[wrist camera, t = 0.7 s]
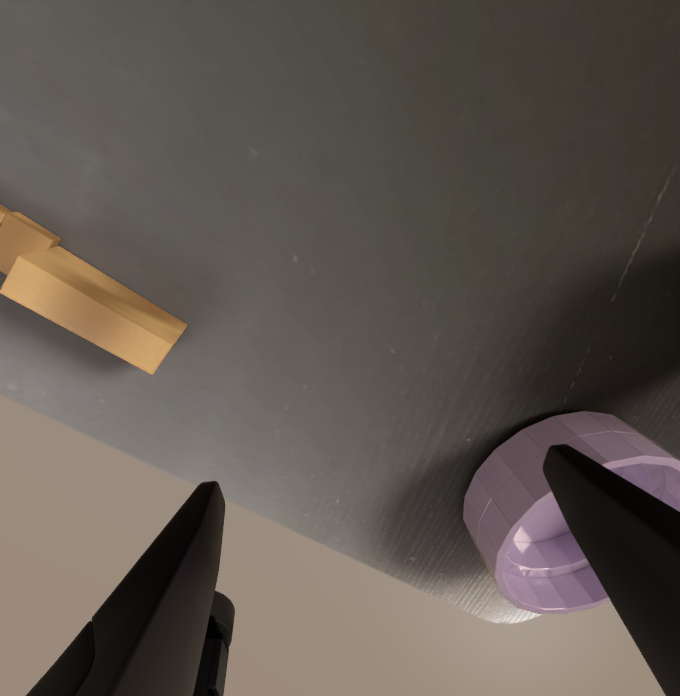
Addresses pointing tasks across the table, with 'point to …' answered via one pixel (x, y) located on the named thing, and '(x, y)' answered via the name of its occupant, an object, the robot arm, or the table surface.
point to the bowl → (554, 508)
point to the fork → (81, 295)
